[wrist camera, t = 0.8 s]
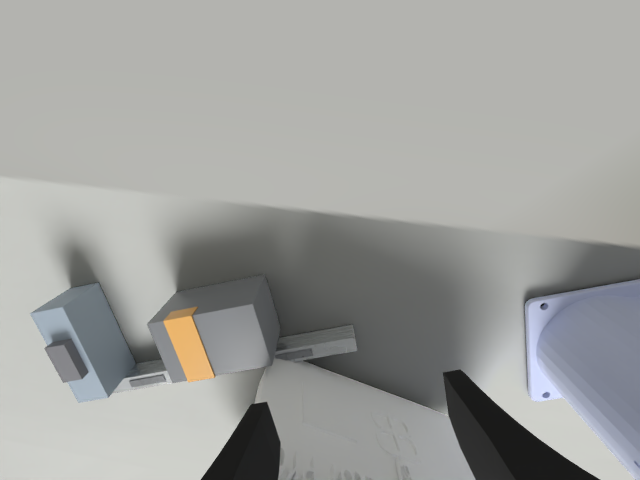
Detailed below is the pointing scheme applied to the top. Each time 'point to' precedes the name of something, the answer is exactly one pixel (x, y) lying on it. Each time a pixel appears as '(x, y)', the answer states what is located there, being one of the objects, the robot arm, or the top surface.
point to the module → (217, 329)
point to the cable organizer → (355, 429)
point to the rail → (286, 349)
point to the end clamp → (84, 342)
